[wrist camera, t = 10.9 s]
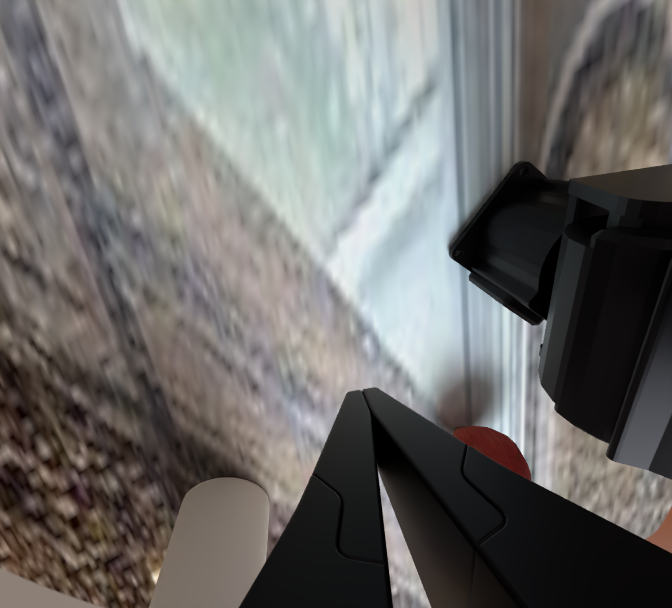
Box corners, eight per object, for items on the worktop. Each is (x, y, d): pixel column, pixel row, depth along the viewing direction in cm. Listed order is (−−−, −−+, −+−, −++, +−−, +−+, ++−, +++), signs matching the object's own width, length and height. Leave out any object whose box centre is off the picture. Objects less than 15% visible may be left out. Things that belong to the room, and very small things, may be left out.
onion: (496, 396, 26) (573, 490, 19) (491, 447, 29) (558, 547, 21) (425, 410, 26) (475, 511, 19) (426, 460, 28) (471, 566, 21)
